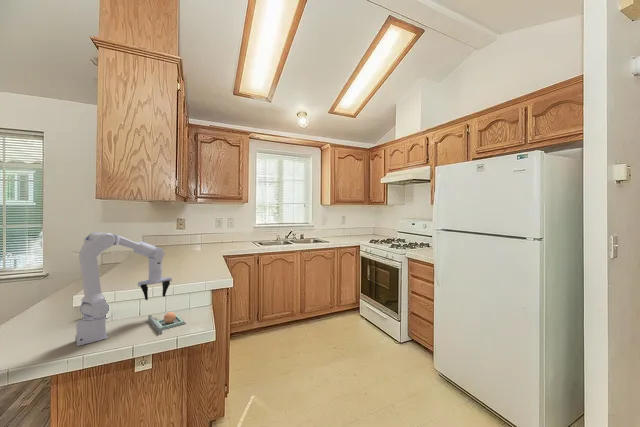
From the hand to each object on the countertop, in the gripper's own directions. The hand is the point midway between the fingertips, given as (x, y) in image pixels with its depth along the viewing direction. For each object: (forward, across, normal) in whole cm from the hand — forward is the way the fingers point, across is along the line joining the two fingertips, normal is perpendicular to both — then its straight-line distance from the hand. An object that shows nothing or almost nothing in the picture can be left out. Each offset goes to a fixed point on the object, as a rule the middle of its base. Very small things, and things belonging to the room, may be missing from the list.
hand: (155, 297), depth 135 cm
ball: (+7, +3, -14) cm, 16 cm away
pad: (+9, +3, -14) cm, 17 cm away
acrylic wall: (+9, -3, -13) cm, 16 cm away
